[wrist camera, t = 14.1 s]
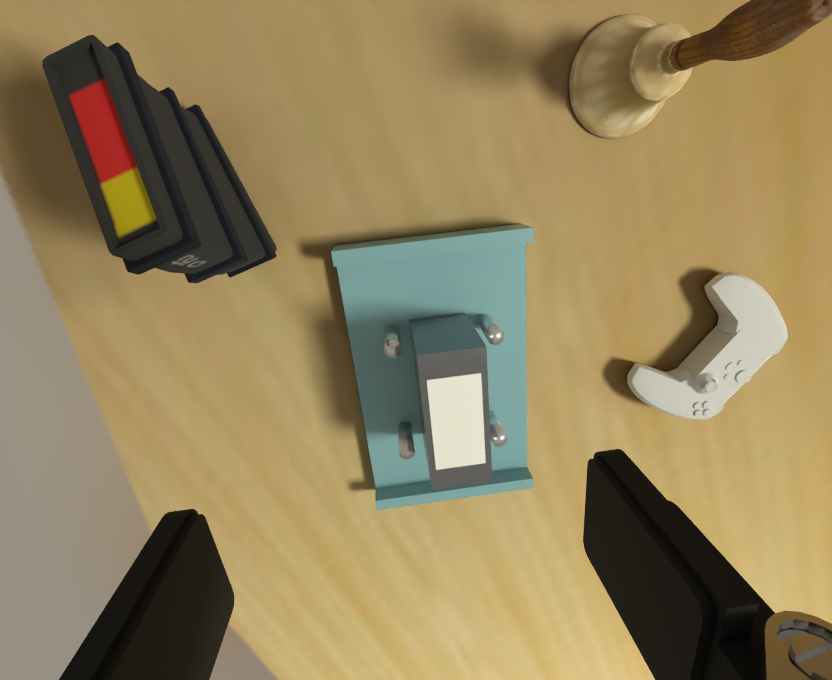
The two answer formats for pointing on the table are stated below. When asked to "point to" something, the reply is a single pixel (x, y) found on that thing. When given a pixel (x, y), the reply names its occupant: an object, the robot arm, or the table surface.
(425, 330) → the block
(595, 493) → the robot arm
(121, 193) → the black stepped block
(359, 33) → the table surface
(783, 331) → the game controller
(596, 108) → the hand bell
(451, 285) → the pin tray
